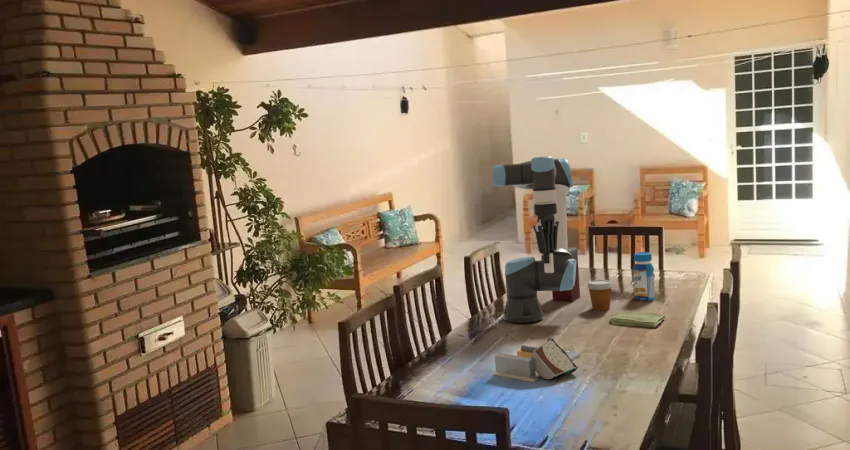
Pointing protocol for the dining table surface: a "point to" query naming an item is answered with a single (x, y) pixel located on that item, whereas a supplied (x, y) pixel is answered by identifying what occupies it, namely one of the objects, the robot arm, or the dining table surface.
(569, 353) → the vise
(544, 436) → the dining table surface
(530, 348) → the block
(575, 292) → the toy vending machine
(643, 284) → the beverage bottle
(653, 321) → the washcloth
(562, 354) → the food container
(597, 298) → the disposable coffee cup
